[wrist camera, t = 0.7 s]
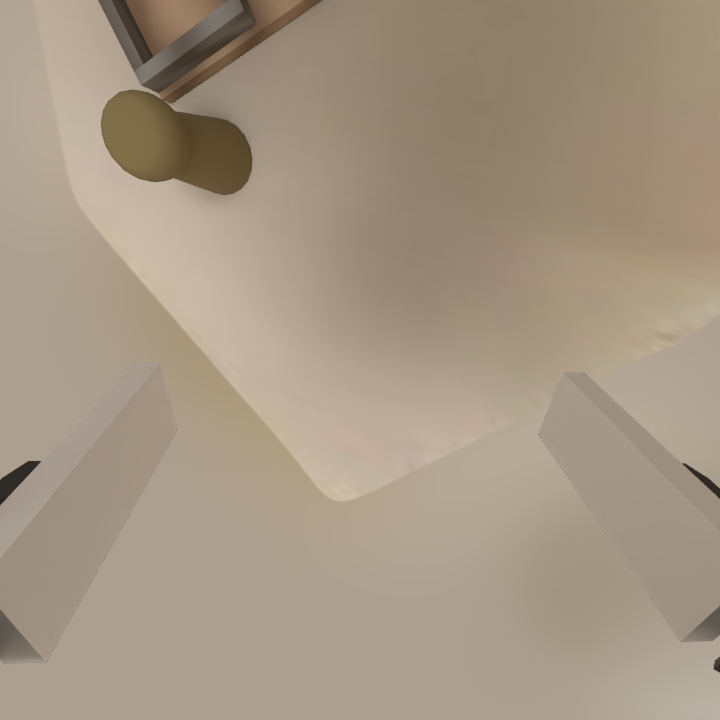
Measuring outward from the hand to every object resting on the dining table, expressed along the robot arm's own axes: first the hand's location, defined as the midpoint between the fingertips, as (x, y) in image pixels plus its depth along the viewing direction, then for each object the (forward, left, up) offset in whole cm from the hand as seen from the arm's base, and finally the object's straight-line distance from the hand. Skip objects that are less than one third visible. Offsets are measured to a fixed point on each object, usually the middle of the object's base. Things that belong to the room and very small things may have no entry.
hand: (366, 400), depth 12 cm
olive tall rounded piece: (+12, -16, -24) cm, 31 cm away
